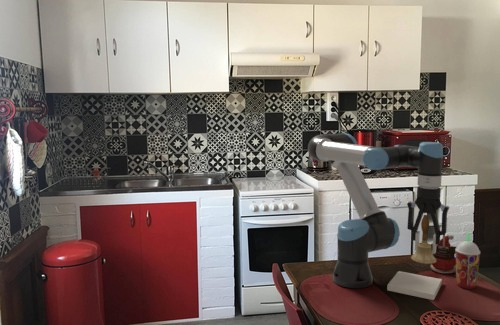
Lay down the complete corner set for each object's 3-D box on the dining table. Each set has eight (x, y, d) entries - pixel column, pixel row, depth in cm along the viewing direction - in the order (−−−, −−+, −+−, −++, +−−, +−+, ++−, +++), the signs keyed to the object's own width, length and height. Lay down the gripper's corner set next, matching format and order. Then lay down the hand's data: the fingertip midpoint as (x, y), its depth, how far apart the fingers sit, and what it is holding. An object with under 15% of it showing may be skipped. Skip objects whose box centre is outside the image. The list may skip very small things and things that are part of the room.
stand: (387, 290, 155) (387, 285, 155) (398, 275, 169) (398, 271, 168) (433, 300, 147) (433, 294, 146) (441, 284, 160) (441, 279, 160)
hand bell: (417, 264, 143) (420, 218, 141) (407, 255, 151) (409, 212, 149) (441, 263, 143) (444, 218, 141) (429, 255, 152) (432, 212, 149)
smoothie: (482, 291, 153) (484, 237, 151) (457, 289, 155) (459, 236, 152) (474, 282, 161) (477, 231, 159) (451, 280, 163) (453, 230, 160)
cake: (427, 272, 172) (428, 229, 170) (430, 264, 180) (432, 223, 178) (455, 276, 167) (457, 232, 164) (458, 269, 174) (460, 227, 172)
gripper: (399, 185, 148) (396, 249, 151) (455, 191, 138) (451, 259, 141) (404, 182, 154) (402, 243, 157) (459, 187, 144) (455, 253, 147)
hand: (425, 250), depth 149 cm, fingers closed on hand bell, 5 cm apart
